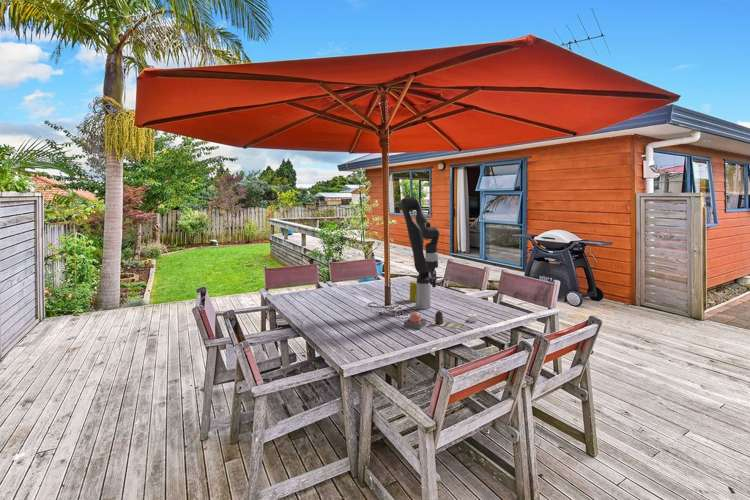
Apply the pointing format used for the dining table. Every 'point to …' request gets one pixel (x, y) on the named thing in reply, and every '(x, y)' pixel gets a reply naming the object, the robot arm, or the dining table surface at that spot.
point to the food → (413, 290)
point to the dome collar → (415, 324)
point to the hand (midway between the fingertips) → (432, 285)
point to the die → (472, 318)
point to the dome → (415, 318)
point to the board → (448, 325)
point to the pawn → (438, 318)
